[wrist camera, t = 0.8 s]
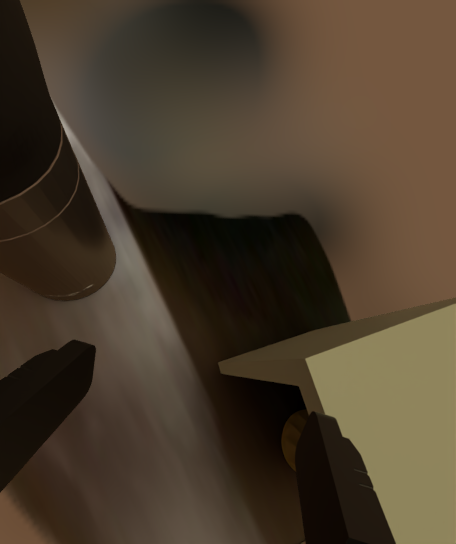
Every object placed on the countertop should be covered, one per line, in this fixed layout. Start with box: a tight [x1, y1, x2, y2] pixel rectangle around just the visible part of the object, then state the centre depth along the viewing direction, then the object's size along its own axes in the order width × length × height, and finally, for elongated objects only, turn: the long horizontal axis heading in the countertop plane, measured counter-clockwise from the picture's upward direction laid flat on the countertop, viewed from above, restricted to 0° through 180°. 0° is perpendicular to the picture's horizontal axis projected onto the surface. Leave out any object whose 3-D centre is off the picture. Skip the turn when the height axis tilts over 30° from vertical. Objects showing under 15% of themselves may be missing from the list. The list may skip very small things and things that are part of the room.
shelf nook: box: [218, 298, 456, 544], centre depth 20 cm, size 14×13×20 cm
